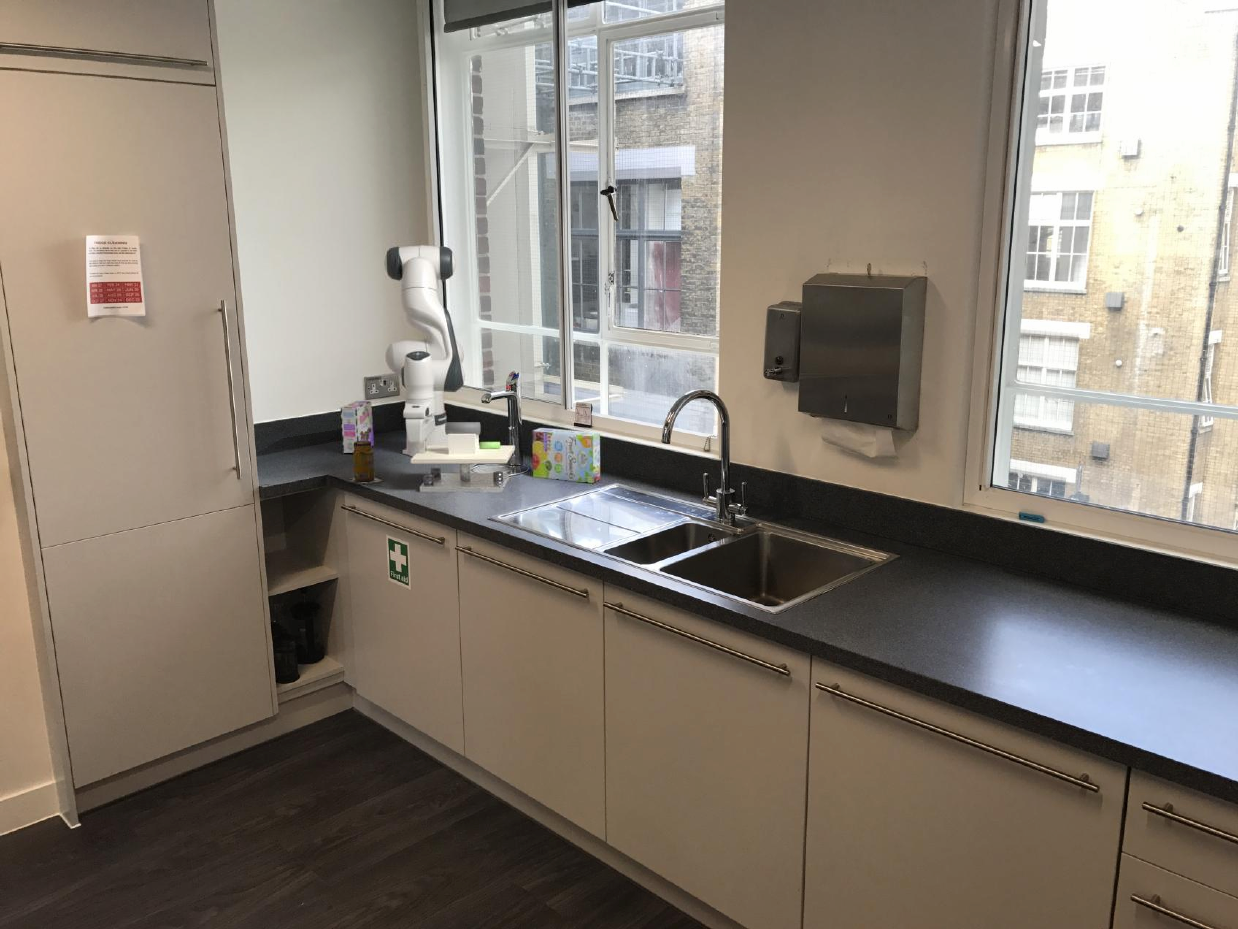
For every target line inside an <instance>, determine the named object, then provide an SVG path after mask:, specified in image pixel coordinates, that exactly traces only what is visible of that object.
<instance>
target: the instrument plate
mask: <svg viewBox="0 0 1238 929" xmlns="http://www.w3.org/2000/svg"><path fill="white" fill-rule="evenodd" d="M481 429H482V425H481V422H480V421H479V422H478V421H475V422H472V421H471V422H470V421H469V422H467V421H464V422H461V421H459V422H457V421H456V422H454V421H453V422H448V421H447V422H446V424H445V433H446V434H448V446H427V451H426V452H425V453H419V452H418V453H417V454H416V455H415V456H414V457H413V456H412V458H411V459H410V464H460V463H470V464H507V463H508V462H509V460H510V459H511V456H513V453H514V451H515V450H516V446H515V445H501V442H500V441H480V442H479V440H480V438H479V436H480V435H481V432H482V430H481Z"/></svg>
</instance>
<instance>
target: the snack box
mask: <svg viewBox="0 0 1238 929" xmlns="http://www.w3.org/2000/svg"><path fill="white" fill-rule="evenodd" d="M531 434H532V435H531V436H532V476H533V477H534V478H539V479H547V480H548V479H549V480H556V479H559V481H565V480H567V481H566V482H577V483H583V482H588V483H587V484H592V483H593V484H595V483H597V482H599V481H600V480H601V433H600V432H594V431H593V432H592V431H582V430H580V431H579V430H572V429H571V430H570V429H568V430H567V429H558V428H547V427H539V428H537V429H534V430H532V432H531ZM599 479H600V480H599ZM598 480H599V481H598ZM594 482H595V483H594Z"/></svg>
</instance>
